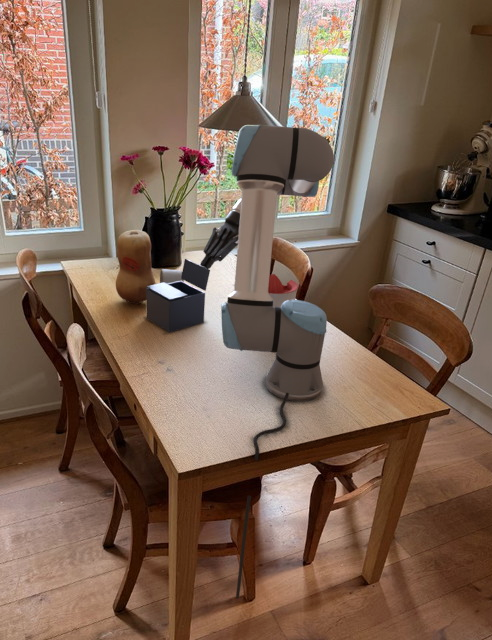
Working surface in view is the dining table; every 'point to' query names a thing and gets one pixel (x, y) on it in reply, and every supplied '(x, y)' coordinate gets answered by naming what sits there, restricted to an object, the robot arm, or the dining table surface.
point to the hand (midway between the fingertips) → (198, 274)
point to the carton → (175, 305)
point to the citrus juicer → (281, 290)
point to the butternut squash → (134, 266)
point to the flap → (195, 274)
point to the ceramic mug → (170, 276)
